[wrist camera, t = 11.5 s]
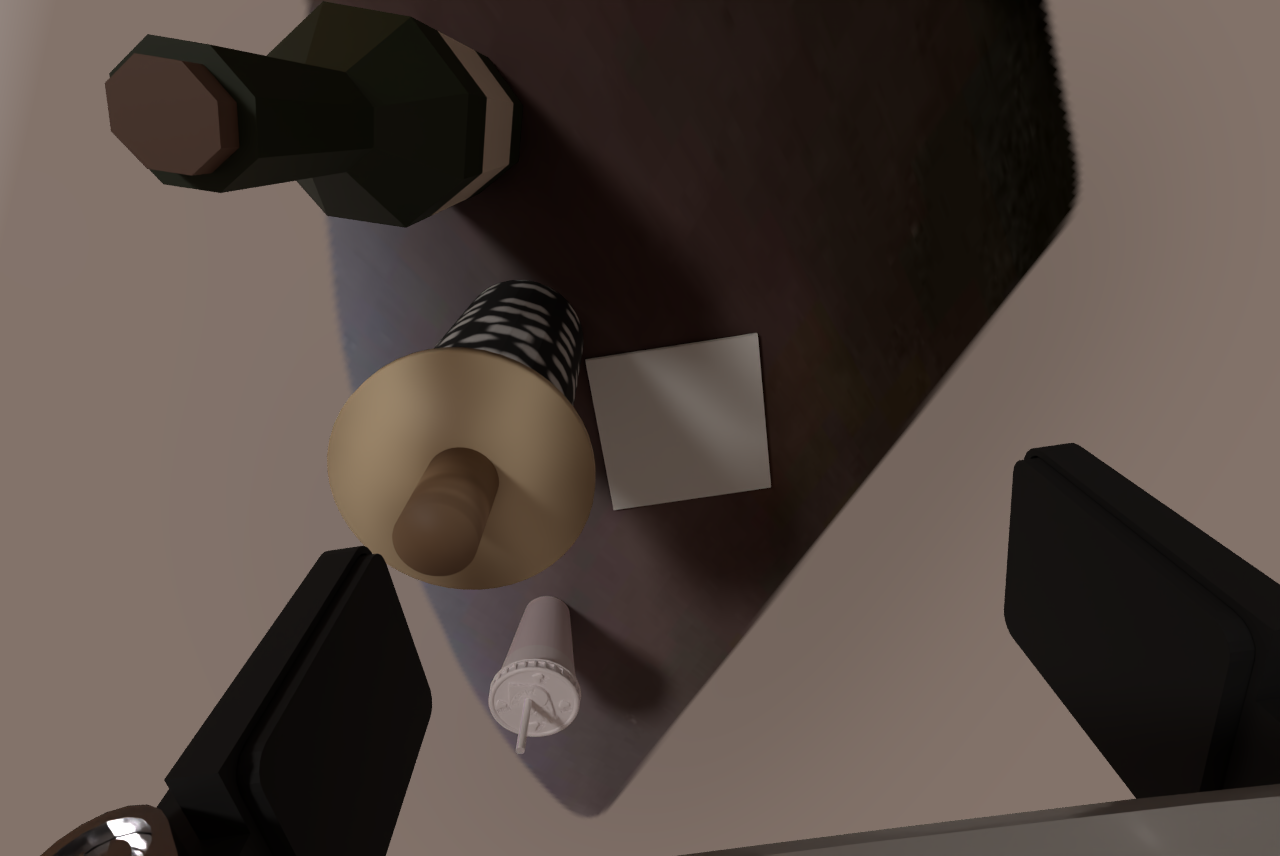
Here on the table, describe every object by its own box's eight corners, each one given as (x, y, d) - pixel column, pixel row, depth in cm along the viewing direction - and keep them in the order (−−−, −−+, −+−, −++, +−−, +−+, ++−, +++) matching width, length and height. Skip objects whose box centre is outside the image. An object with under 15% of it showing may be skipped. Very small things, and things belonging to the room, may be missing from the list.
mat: (756, 333, 49) (757, 334, 48) (770, 485, 53) (771, 487, 53) (585, 359, 49) (585, 360, 49) (613, 507, 54) (613, 510, 53)
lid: (566, 325, 28) (553, 369, 23) (616, 558, 32) (615, 639, 27) (295, 372, 28) (224, 425, 23) (381, 595, 32) (337, 682, 27)
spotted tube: (605, 363, 49) (596, 504, 31) (503, 416, 50) (437, 581, 32) (543, 257, 46) (493, 343, 28) (437, 316, 48) (322, 435, 29)
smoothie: (548, 568, 56) (526, 700, 43) (602, 617, 58) (597, 757, 45) (491, 612, 57) (454, 753, 44) (546, 658, 59) (525, 805, 46)
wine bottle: (550, 98, 42) (421, 44, 15) (488, 220, 45) (281, 366, 18) (423, 15, 41) (4, -223, 13) (366, 148, 43) (-80, 185, 16)
